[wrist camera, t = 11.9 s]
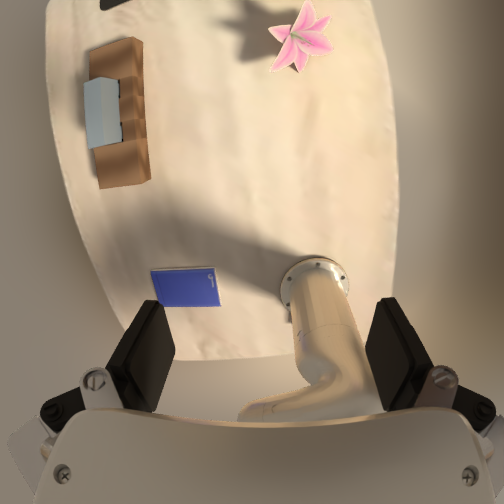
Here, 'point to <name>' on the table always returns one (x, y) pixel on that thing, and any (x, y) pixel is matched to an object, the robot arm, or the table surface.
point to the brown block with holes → (123, 115)
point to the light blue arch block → (102, 112)
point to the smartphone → (111, 4)
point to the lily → (301, 39)
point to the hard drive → (187, 287)
